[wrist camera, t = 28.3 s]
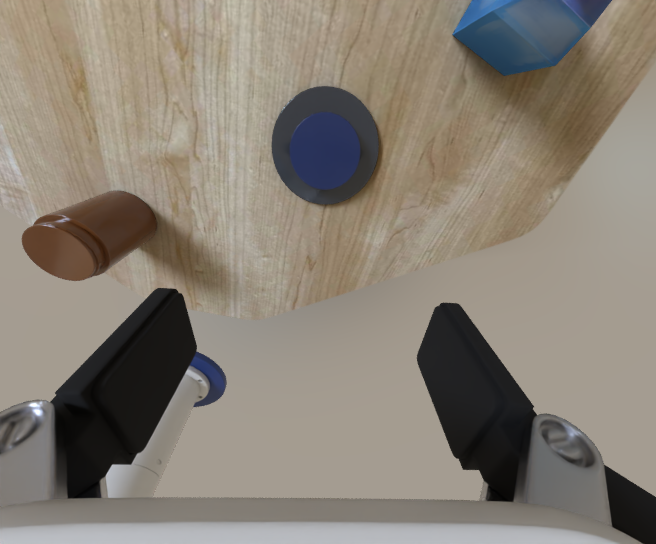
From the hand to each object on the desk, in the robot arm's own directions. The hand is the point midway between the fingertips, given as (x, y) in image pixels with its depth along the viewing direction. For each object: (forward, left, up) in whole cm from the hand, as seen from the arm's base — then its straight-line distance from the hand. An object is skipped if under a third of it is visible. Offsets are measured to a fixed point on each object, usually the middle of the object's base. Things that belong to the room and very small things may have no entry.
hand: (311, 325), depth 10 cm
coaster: (+3, 0, -22) cm, 23 cm away
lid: (+3, 0, -20) cm, 21 cm away
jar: (-10, +21, -22) cm, 32 cm away
